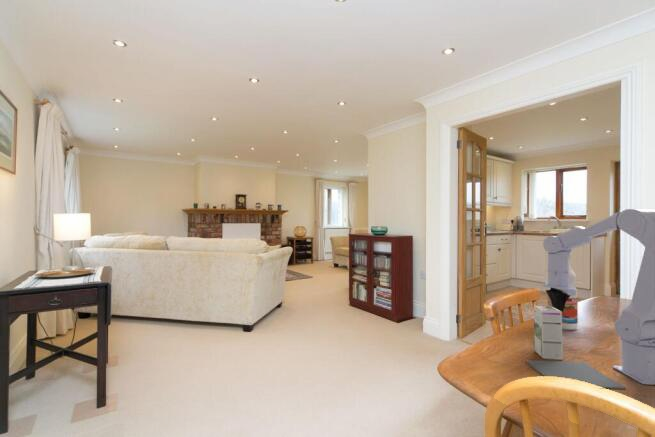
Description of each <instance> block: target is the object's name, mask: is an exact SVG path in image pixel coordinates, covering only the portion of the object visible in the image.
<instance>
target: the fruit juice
mask: <svg viewBox="0 0 655 437" xmlns="http://www.w3.org/2000/svg"><path fill="white" fill-rule="evenodd" d="M570 258H571V256H570V257H569V260H570ZM577 277H578V276H577V274H576V273H575V271H574V270H573V269H572V266H571V264H570V262H569V286H571V287H572V288H574V289H576V295H571V296H570V297H569V298H568V300H567V302H566V304H565V307H564V310H563V313H562V330H568V331H574V330H578V324H579V323H578V320H579V318H578V305H579V304H578V303H579V302H578V289H577V288H576V284H577V281H578V278H577ZM550 289H551V288H549V287H547V290H550ZM547 306H552V303H551V300H550V298H549V296H548V295H547ZM552 307H553V306H552Z"/></svg>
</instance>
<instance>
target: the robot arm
mask: <svg viewBox="0 0 655 437" xmlns="http://www.w3.org/2000/svg"><path fill="white" fill-rule="evenodd" d="M617 230H621V231H622V232H624V233H626V234H627V235H629V236H631V237H633V238H634V239H636V240H637V241H638V242H639V243H640V244H641V245H643V247H644V250H643V251H644V252H643V255H642V259H641V263H640V267H639V271H638V274H637V279H636V283H635V287H634V289H633V294H632V297H631V302H630V303H629V304H628V305H627V306H626V307H625V308H624V309H623V310H622V311H621V315H620V316H619V317H618V318H617V319H616V320H615V322H614V329H615V332H616V334H617V335H618V336H619V337H620V340H621V365H613V367H612V368H613V369H615V370H617V371H618V372H620V373H622V374H623V375H626V376H627V377H630V378H631V379H633V380H635V381H636V382H638V383H640V384H643V385H648V386H649V385H653V386H654V385H655V208H651V209H650V208H649V209H636V208H627V209H624V210H622V211H619V212H615V213H613V214H611V215H610V216H608V217H605V218H604V219H601V220H599V221H597V222H595V223H593V224H590V225H589V226H587V227H584V226H582V225H581V226H579V225H573V226H571V227H570V229H569V230H566V231H563V232H562V231H560V232H558V234H557V235H548V236H547V237H545V239H544V240H543V244H542V245H543V249H544V251H546V252H547V280H542V287H547V288H548V287H549V288H551V289H550V290H548V289H546V290H545V292H546V294H547V297H548V296H549V298H550V300H551V303H552V306H553V307H554V308H556V309H558V310H560V311H561V312H562V313H563V310H564V307H565V304H566V302H567V300H568V298H569V297H570V296H571V295H576V289H577V288H576V289H574V288H572V287H571V286H569V263H570V259H569V257H570V258H571V252H572V251H573V249H576V248H580V247H582V246H584V245H587V244H590V243H591V242H592V239H593V238H594V237H597V236H600V235H605V234H608V233H610V232H613V231H617Z"/></svg>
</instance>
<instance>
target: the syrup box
mask: <svg viewBox="0 0 655 437" xmlns="http://www.w3.org/2000/svg"><path fill="white" fill-rule="evenodd" d="M563 342H564V341H563V329H562V312H561V311H560V310H558V309H556V308H554V307H552V306H548V305H533V344H534V347H533V351H534V352H535V353H536V354H538V356H540V358H542V359H544V360H553V361H554V360H555V361H563V360H564V357H563V356H564V352H563V350H564V349H563V347H564V344H563Z"/></svg>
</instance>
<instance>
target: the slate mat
mask: <svg viewBox="0 0 655 437" xmlns="http://www.w3.org/2000/svg"><path fill="white" fill-rule="evenodd" d="M525 363H526V364H528V365H530V367H532V368H533V369H534V370H535V371H536V372H538V373H539V374H540V375H542V376H543V377H544V376H557V377H565V378H572V379H577V380H580V381H585V382H588V383H591V384H595V385H597V386H601V387H605V388H604V389H606V388H608V389H609V390H610V389H614V390H626V387H625V385H624V386H623V385H622V384H621V383H619V382H617V381H616V380H614V379H612V378H610V377H609V376H607V375H606V374H604V373H602V371H601V372H600V371H599V370H597V369H596V368H594V367H592V366H591V365H589V364H588V363H586V362H583V361H562V360H555V361H554V360H533V359H532V360H527V359H526V360H525Z"/></svg>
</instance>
